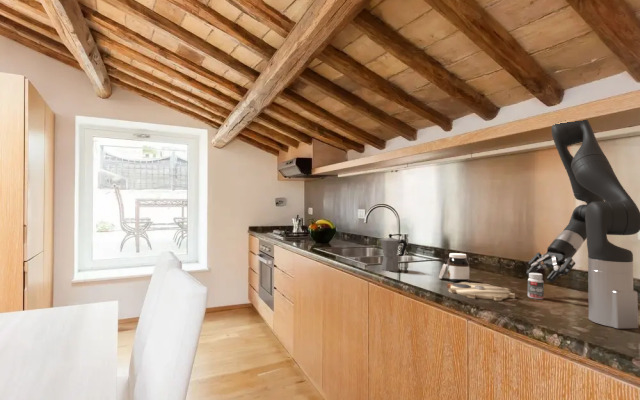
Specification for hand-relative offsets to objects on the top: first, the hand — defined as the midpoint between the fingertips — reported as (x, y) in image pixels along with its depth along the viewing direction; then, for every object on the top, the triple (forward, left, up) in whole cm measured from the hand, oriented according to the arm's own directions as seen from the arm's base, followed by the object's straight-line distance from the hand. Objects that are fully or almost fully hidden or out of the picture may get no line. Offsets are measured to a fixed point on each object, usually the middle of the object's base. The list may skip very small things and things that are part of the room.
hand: (538, 278), depth 115 cm
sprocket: (+8, +17, -7) cm, 20 cm away
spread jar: (+28, +17, -7) cm, 33 cm away
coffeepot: (+53, +36, -7) cm, 64 cm away
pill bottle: (0, +1, -7) cm, 7 cm away
